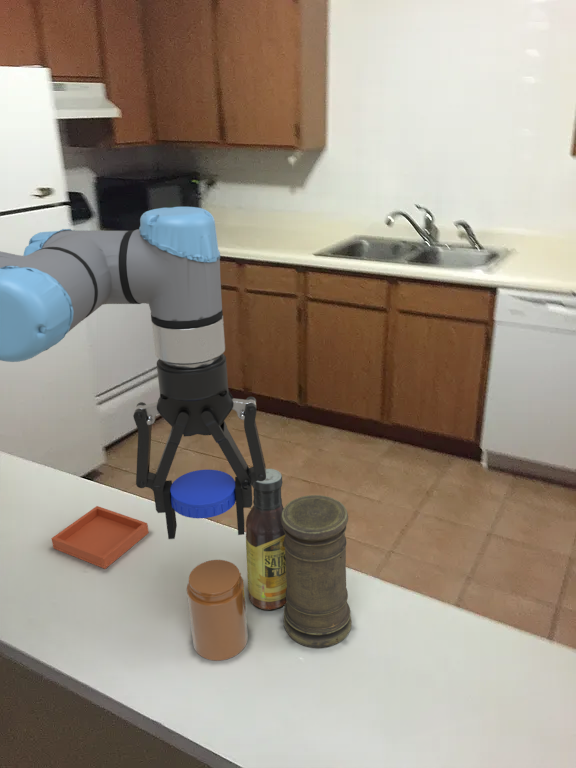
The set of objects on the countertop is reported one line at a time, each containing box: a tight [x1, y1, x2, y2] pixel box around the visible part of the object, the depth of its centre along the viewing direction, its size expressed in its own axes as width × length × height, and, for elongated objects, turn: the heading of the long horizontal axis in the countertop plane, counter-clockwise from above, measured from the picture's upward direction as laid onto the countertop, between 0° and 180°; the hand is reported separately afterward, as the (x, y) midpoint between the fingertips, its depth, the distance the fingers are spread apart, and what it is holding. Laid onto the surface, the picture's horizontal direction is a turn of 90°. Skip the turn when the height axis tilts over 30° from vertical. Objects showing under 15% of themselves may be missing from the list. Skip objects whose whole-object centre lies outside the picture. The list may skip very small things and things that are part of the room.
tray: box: [51, 505, 149, 570], centre depth 108 cm, size 11×10×2 cm
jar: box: [186, 559, 249, 662], centre depth 86 cm, size 7×7×10 cm
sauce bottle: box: [245, 468, 287, 611], centre depth 91 cm, size 7×6×20 cm
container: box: [281, 494, 352, 649], centre depth 87 cm, size 9×9×18 cm
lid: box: [170, 469, 236, 519], centre depth 79 cm, size 8×8×2 cm
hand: (207, 529), depth 81 cm, fingers closed on lid, 8 cm apart
